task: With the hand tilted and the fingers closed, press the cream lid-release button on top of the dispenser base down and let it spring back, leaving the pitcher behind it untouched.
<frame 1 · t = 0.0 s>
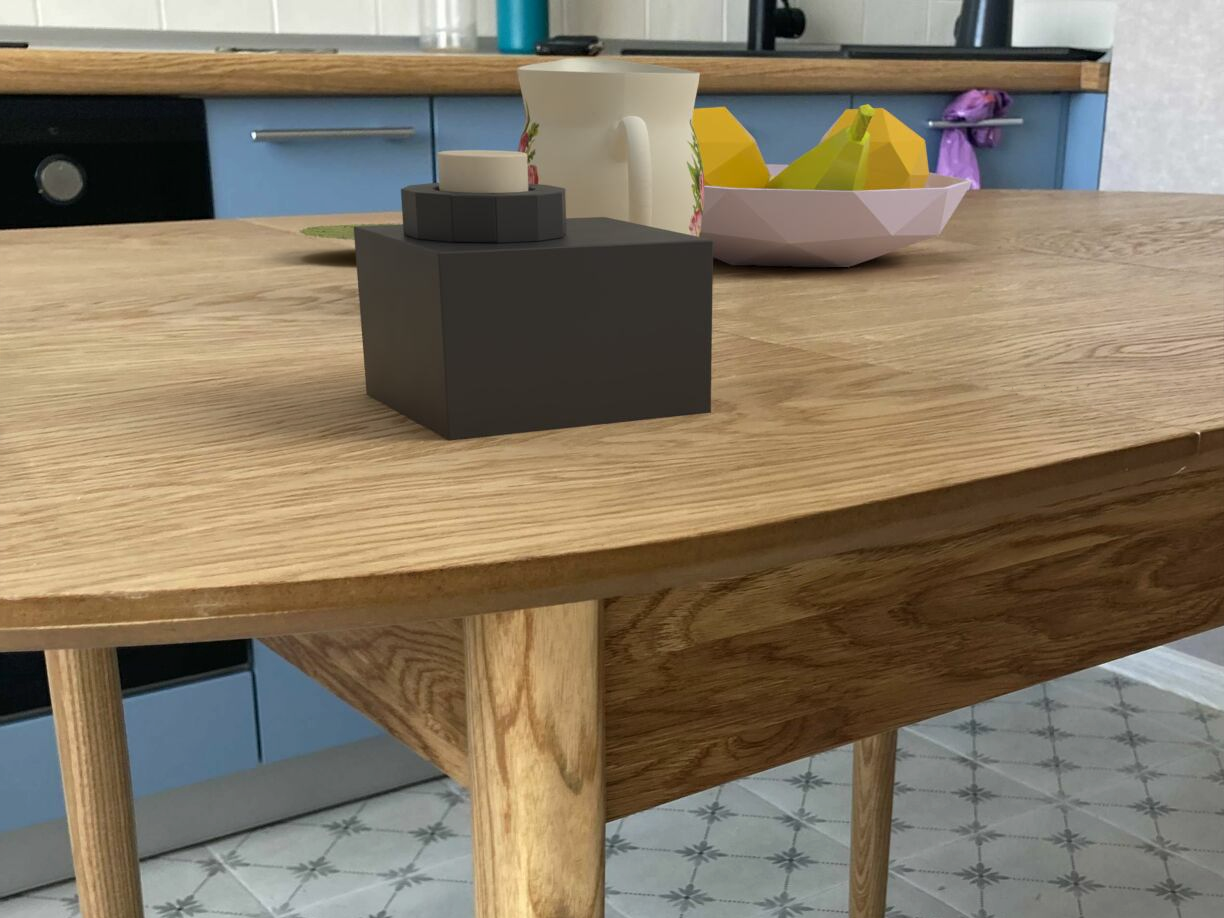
pitcher: (614, 315, 92), on the table
dispenser base: (536, 404, 68), on the table
mat: (381, 260, 113), on the table
fruit bowl: (789, 261, 117), on the table
lid button: (483, 175, 63), point 9 cm above the table, slide at 0.1 cm
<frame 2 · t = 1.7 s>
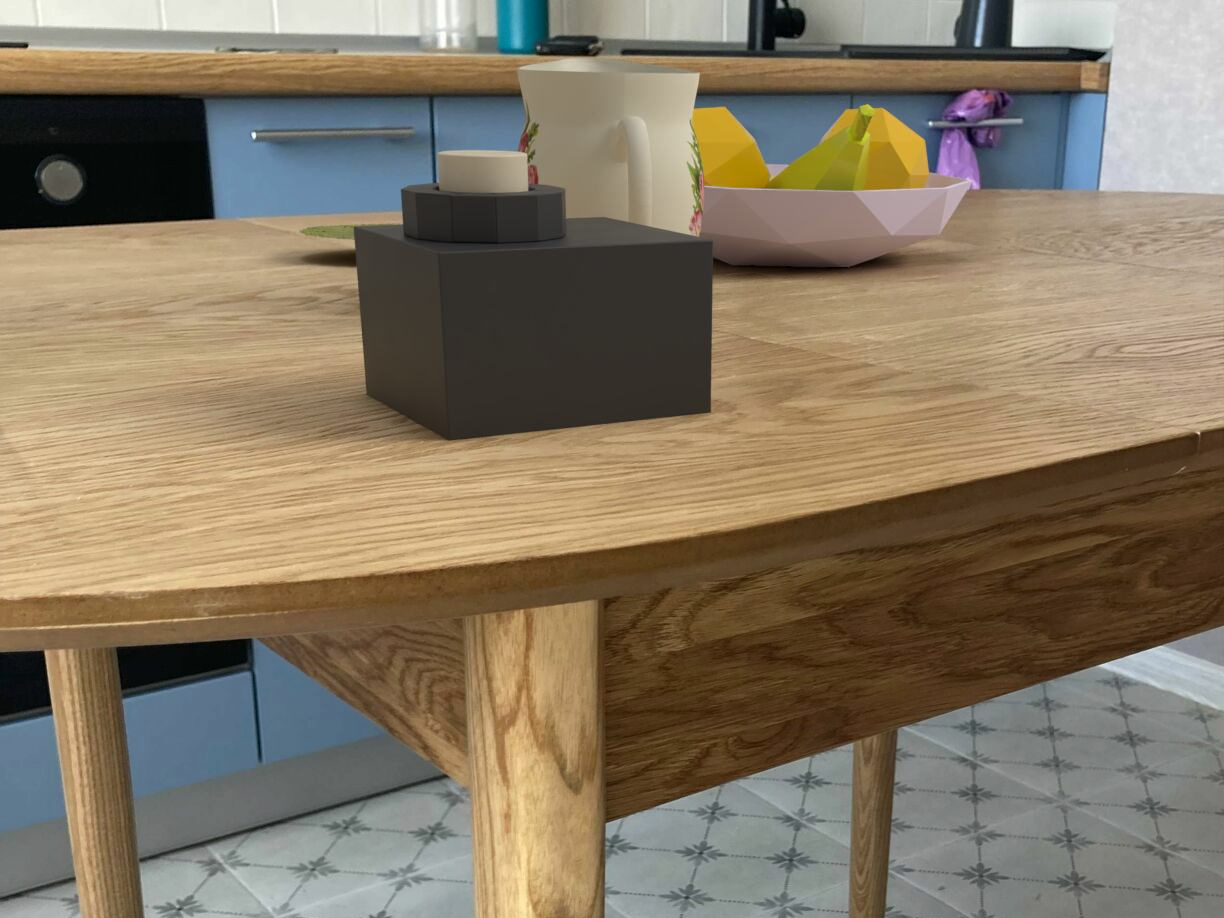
nothing on the table moved.
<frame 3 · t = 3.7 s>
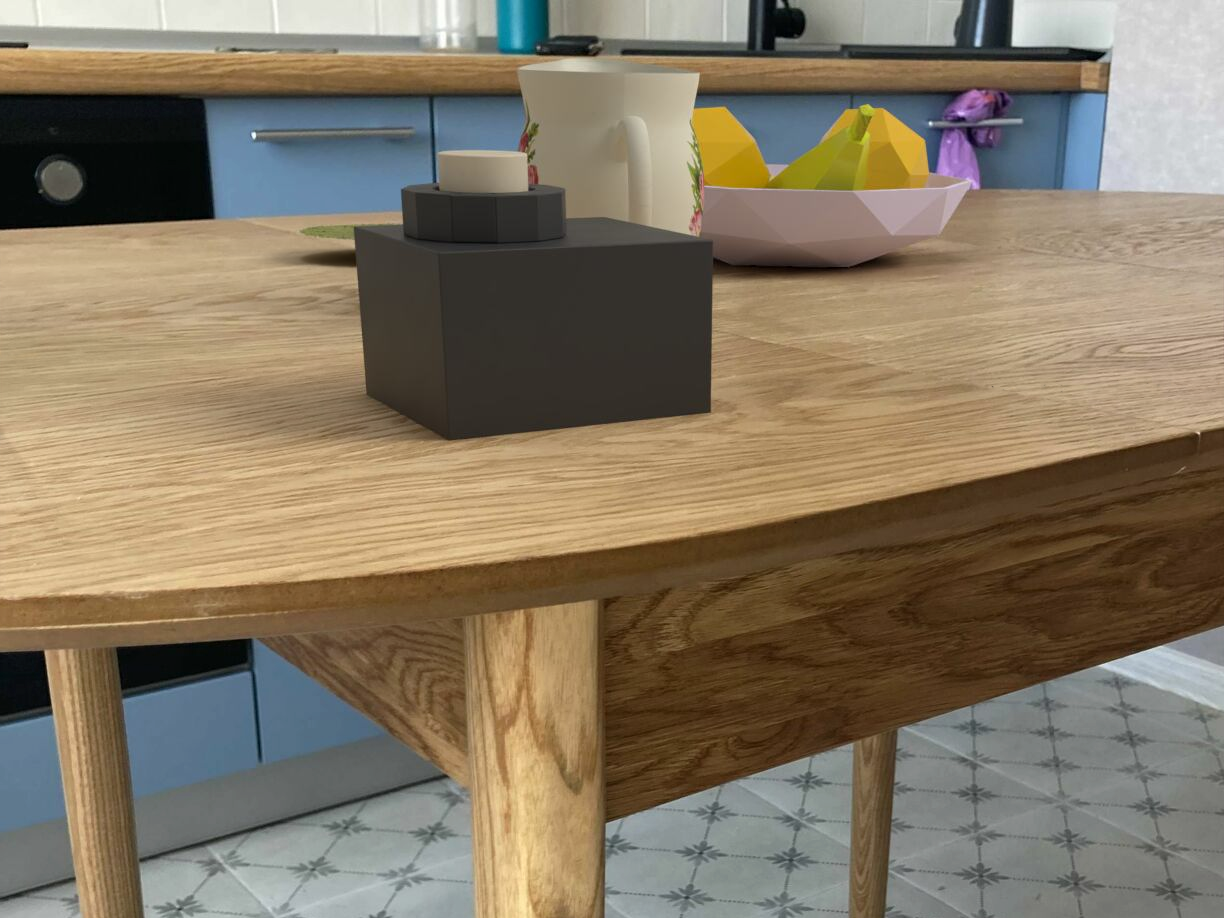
nothing on the table moved.
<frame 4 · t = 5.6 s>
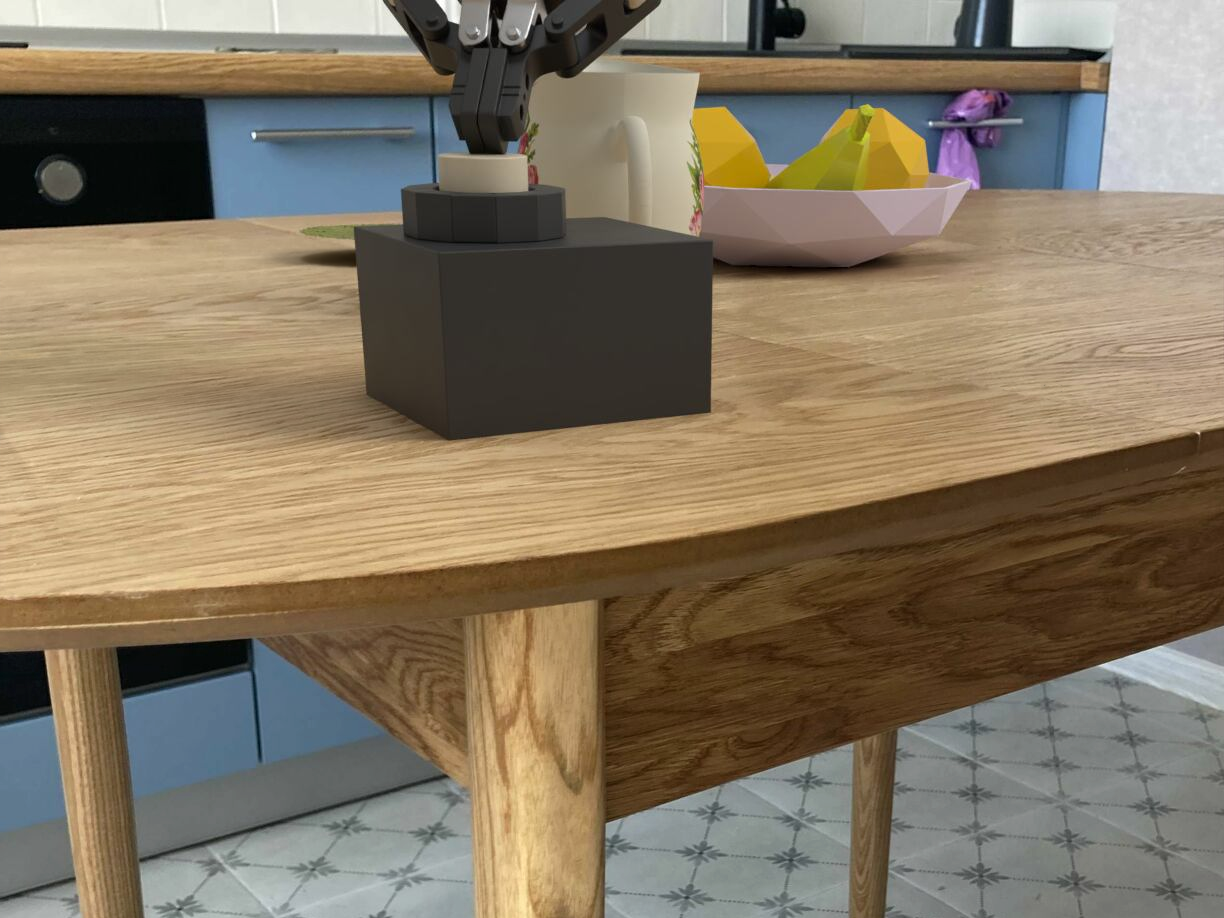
hand: (483, 139, 62), 11 cm above the table, tool tilted 45°, fingers closed
lid button: (483, 177, 63), point 9 cm above the table, slide at 0.0 cm, touching gripper
everything else where it was.
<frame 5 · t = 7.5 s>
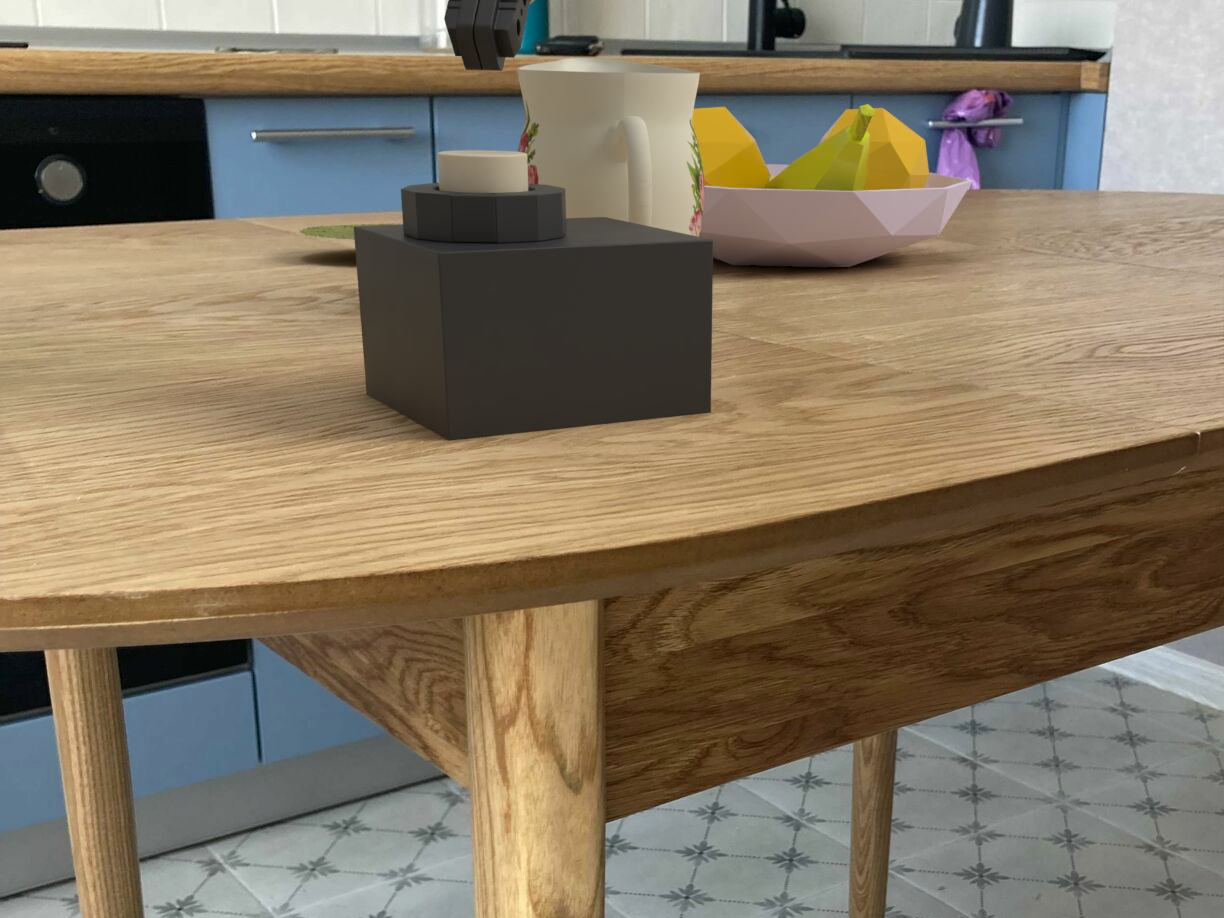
hand: (479, 54, 61), 14 cm above the table, tool tilted 45°, fingers closed
lid button: (483, 175, 63), point 9 cm above the table, slide at 0.1 cm
everything else where it was.
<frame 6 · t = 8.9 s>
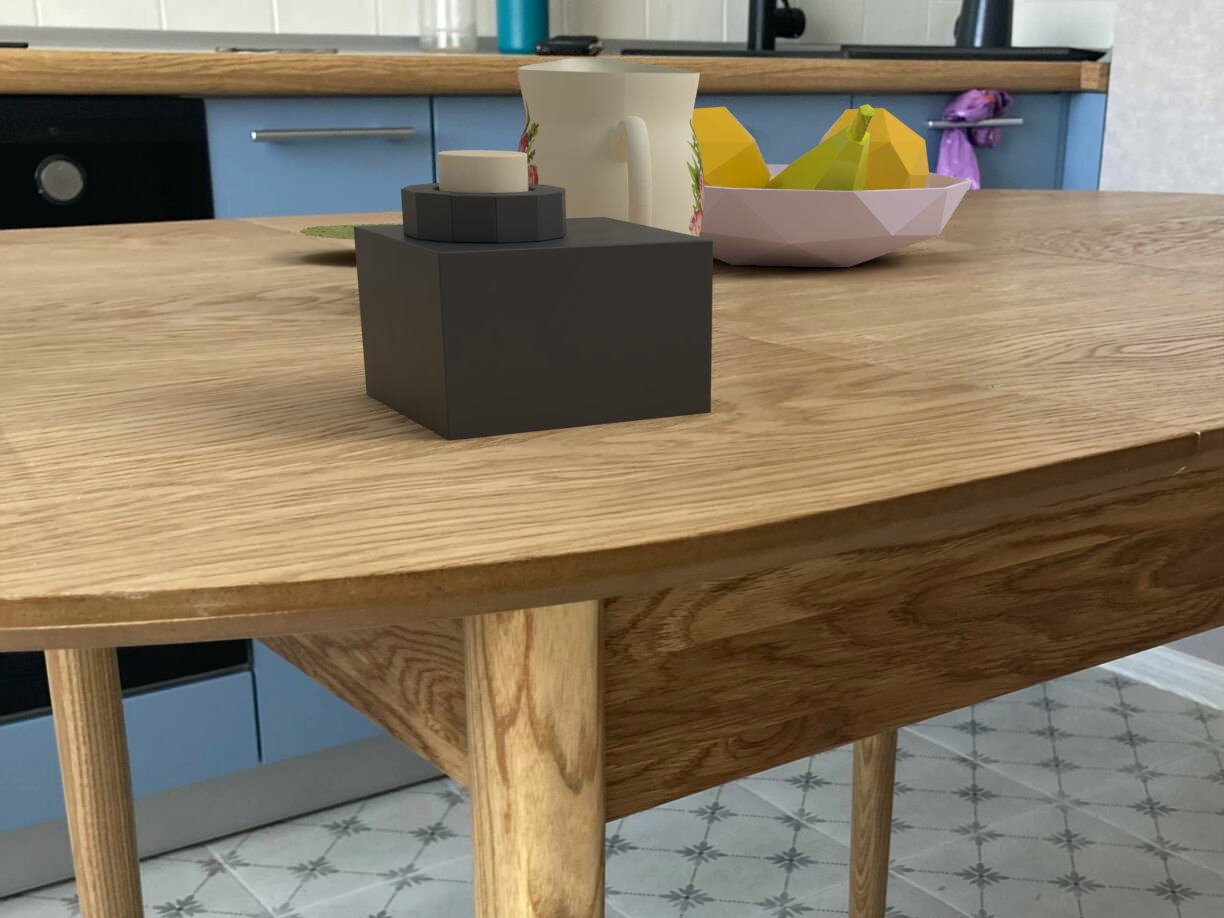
nothing on the table moved.
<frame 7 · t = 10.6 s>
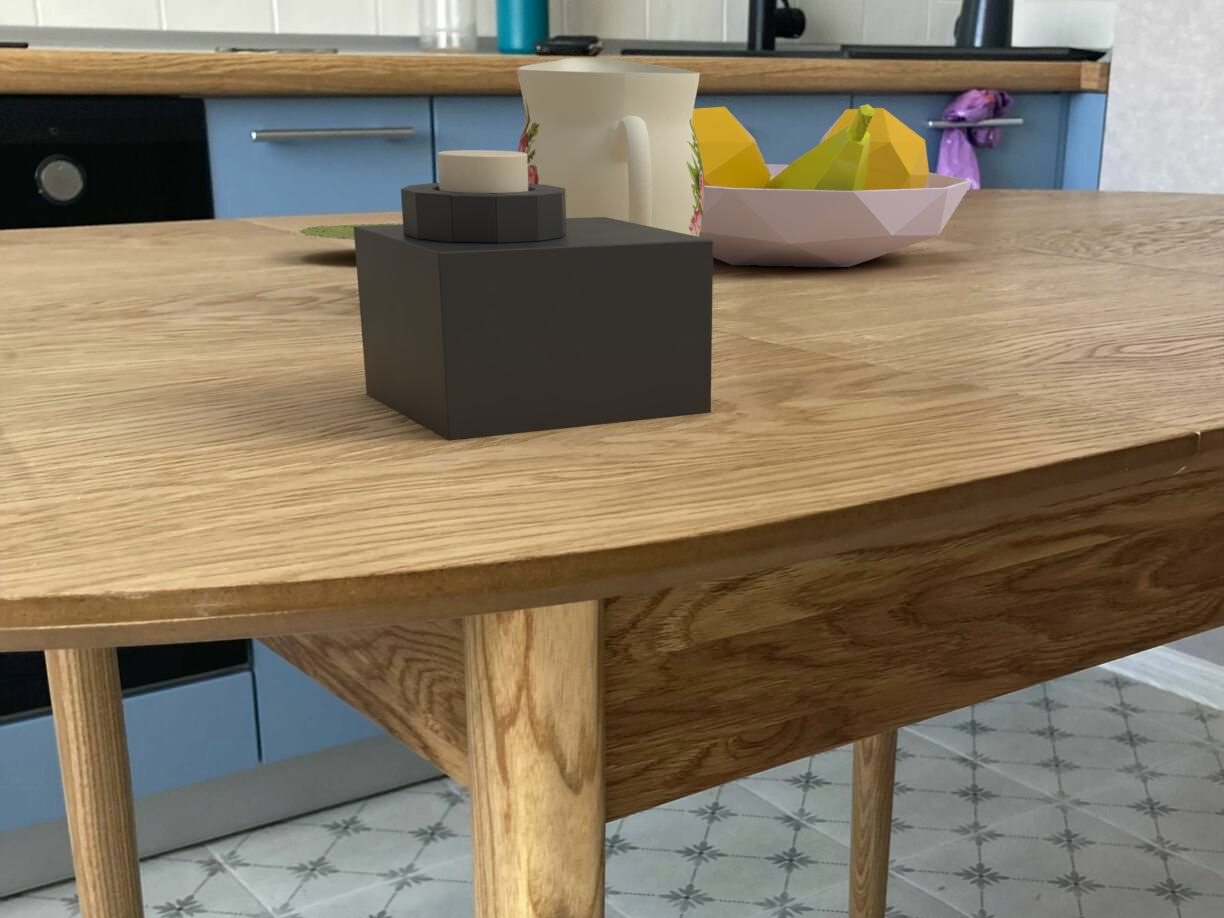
nothing on the table moved.
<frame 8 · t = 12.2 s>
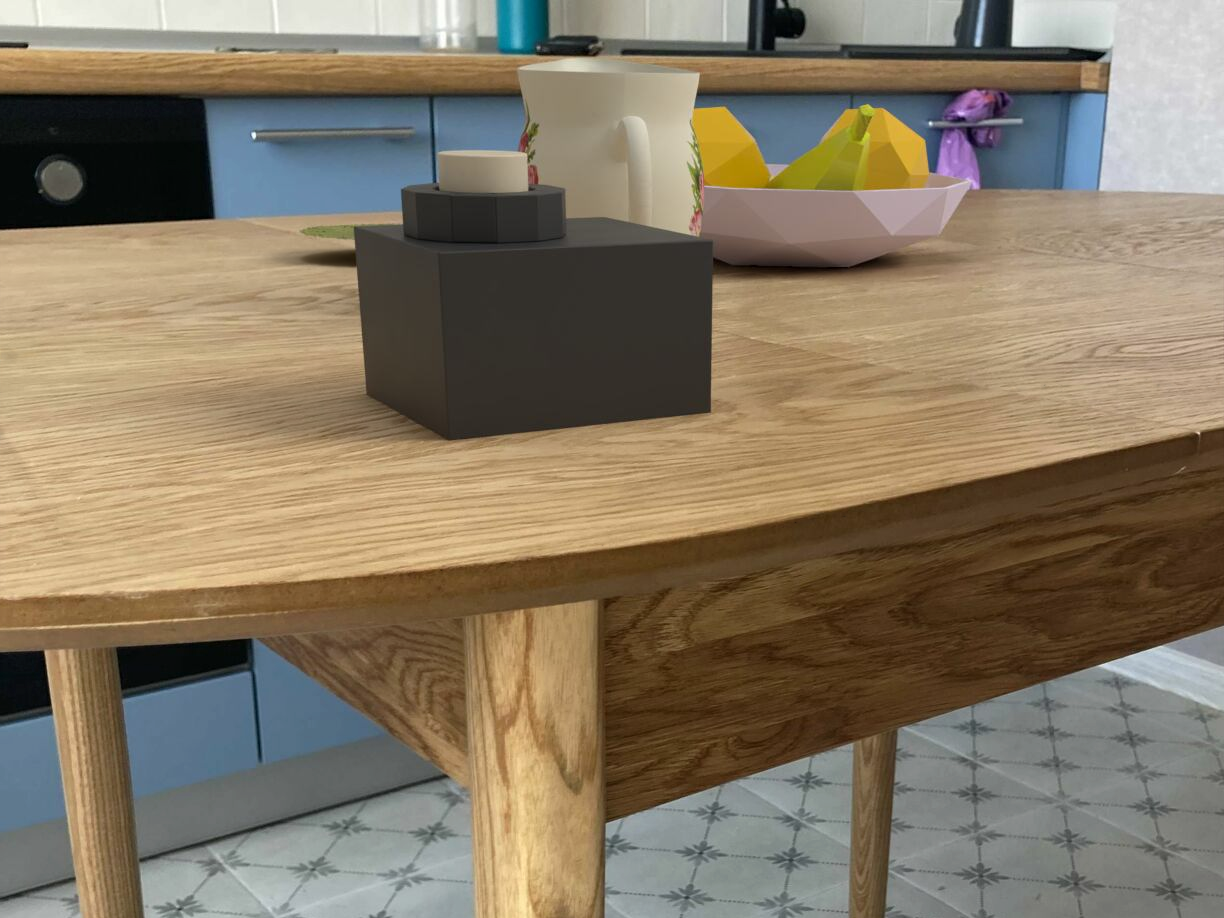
nothing on the table moved.
at the end: lid button pushed in 1.3 cm at the most during the clip, back to where it started at the end; lid button slide at 0.1 cm; pitcher moved 0.2 cm from its start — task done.
